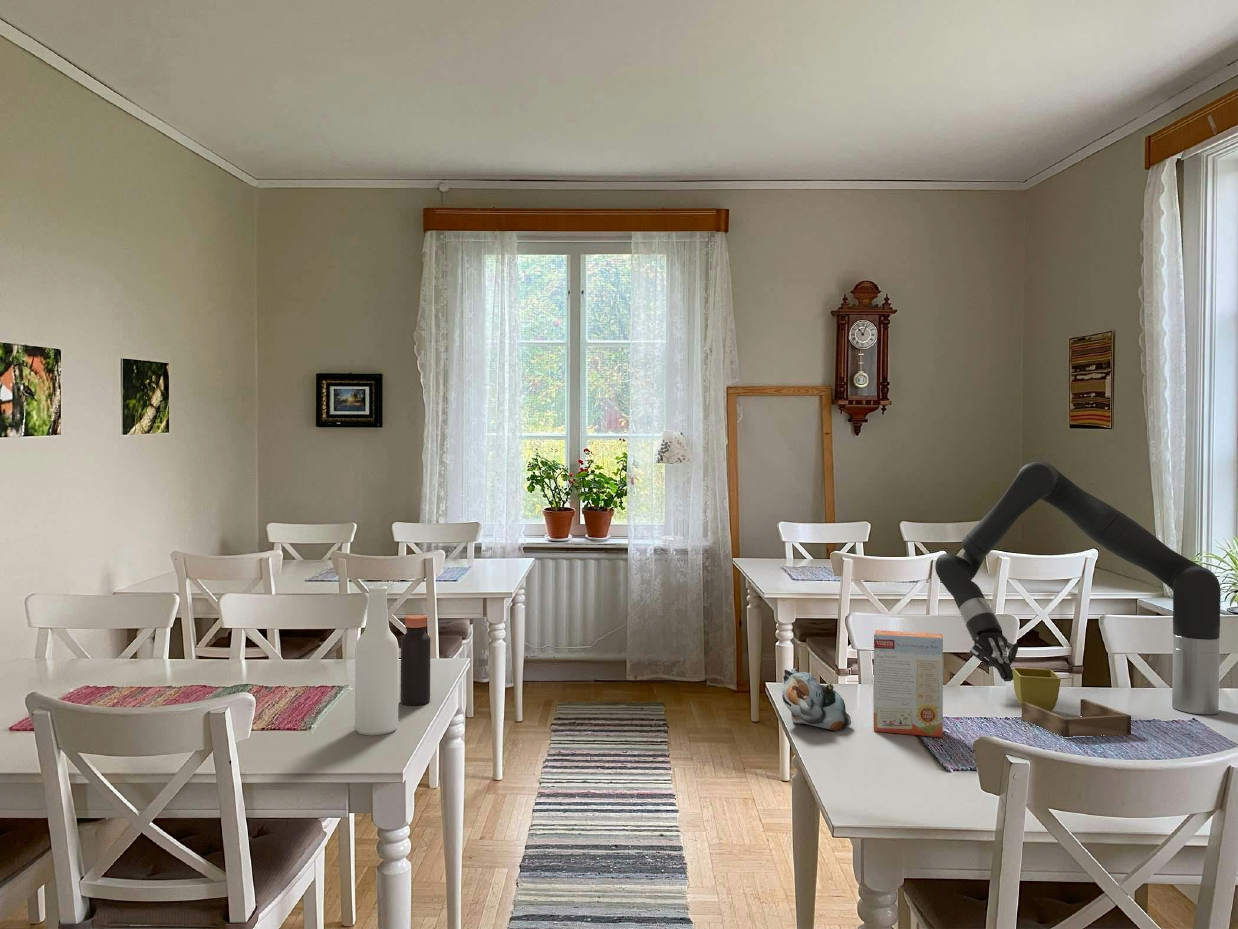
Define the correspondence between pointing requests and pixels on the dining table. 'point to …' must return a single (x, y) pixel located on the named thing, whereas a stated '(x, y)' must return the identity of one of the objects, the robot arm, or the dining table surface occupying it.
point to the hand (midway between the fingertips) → (1009, 679)
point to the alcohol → (376, 670)
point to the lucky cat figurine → (813, 702)
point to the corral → (1080, 720)
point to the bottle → (415, 662)
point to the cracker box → (908, 683)
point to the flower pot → (1036, 687)
